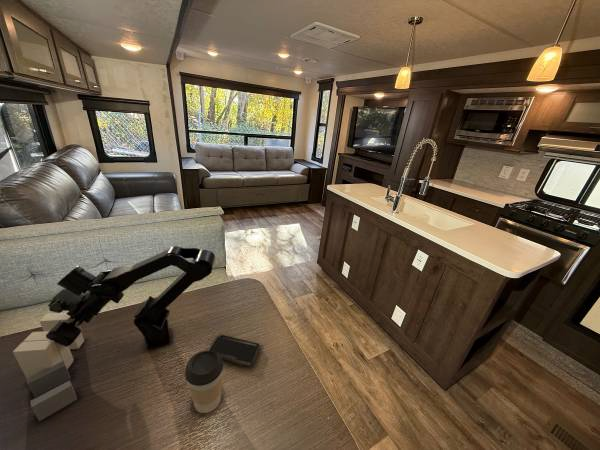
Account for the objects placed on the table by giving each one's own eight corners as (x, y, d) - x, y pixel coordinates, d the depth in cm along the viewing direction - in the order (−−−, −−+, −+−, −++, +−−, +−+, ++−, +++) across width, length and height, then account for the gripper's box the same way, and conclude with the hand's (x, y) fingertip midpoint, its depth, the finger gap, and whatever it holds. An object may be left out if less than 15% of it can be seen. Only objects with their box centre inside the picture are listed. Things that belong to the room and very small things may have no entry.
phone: (219, 334, 85) (260, 344, 83) (219, 336, 85) (260, 346, 83) (207, 353, 78) (252, 365, 75) (207, 356, 78) (252, 367, 76)
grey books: (69, 374, 69) (63, 360, 67) (77, 399, 64) (71, 385, 62) (33, 392, 64) (26, 378, 62) (39, 421, 59) (31, 407, 57)
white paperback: (84, 340, 79) (74, 312, 74) (78, 348, 77) (67, 319, 72) (59, 342, 78) (46, 313, 73) (52, 350, 75) (39, 321, 70)
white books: (74, 360, 73) (62, 330, 68) (59, 380, 68) (45, 349, 63) (46, 362, 72) (32, 332, 67) (28, 383, 66) (12, 351, 61)
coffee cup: (204, 426, 61) (200, 386, 55) (181, 403, 65) (175, 364, 59) (232, 395, 68) (230, 357, 62) (209, 376, 72) (206, 339, 66)
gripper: (88, 266, 78) (60, 295, 81) (41, 309, 61) (7, 343, 64) (121, 286, 83) (93, 312, 85) (86, 330, 66) (52, 361, 69)
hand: (65, 329), depth 76 cm, fingers open, 5 cm apart
